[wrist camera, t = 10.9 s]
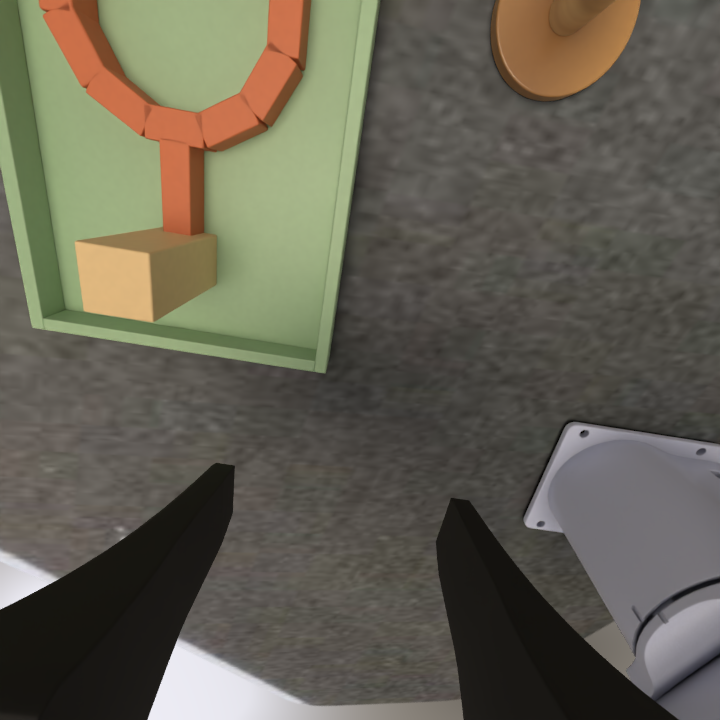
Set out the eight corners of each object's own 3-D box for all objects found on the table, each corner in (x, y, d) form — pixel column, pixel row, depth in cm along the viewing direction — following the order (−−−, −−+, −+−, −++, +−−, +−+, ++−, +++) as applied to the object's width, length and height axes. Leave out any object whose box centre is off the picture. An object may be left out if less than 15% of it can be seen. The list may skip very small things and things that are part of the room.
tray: (415, -241, 12) (423, -319, 10) (329, 357, 21) (325, 374, 19) (-44, -348, 11) (-122, -451, 10) (62, 315, 20) (31, 328, 18)
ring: (323, -135, 13) (288, -382, 7) (285, 296, 19) (251, 339, 13) (44, -195, 12) (-217, -507, 7) (97, 265, 18) (-20, 295, 13)
